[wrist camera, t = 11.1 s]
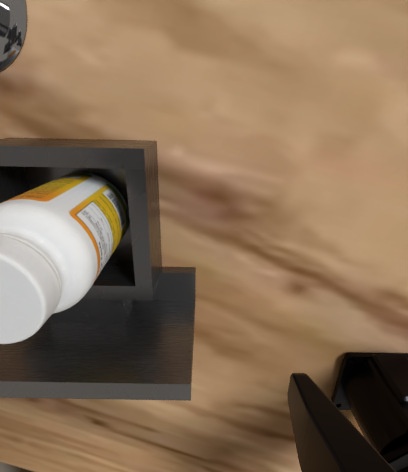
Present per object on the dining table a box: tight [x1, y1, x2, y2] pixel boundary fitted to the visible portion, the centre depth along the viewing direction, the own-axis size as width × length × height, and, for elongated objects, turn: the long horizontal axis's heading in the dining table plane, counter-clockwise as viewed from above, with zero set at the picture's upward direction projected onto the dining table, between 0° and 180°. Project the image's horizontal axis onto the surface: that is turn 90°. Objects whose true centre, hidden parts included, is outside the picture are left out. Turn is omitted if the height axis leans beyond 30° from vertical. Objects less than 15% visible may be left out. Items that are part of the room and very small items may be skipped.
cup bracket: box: [0, 138, 196, 400], centre depth 17 cm, size 12×14×8 cm
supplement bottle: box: [0, 172, 129, 344], centre depth 14 cm, size 5×5×10 cm
